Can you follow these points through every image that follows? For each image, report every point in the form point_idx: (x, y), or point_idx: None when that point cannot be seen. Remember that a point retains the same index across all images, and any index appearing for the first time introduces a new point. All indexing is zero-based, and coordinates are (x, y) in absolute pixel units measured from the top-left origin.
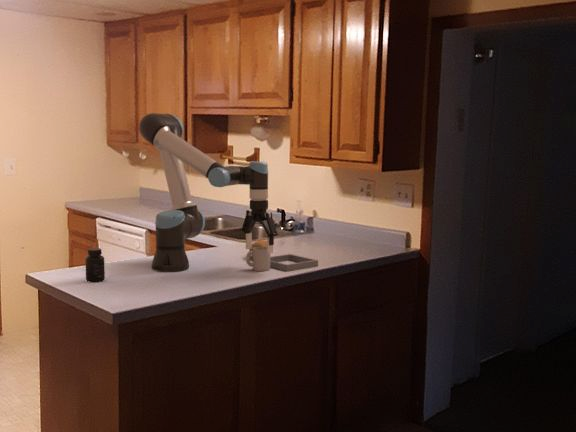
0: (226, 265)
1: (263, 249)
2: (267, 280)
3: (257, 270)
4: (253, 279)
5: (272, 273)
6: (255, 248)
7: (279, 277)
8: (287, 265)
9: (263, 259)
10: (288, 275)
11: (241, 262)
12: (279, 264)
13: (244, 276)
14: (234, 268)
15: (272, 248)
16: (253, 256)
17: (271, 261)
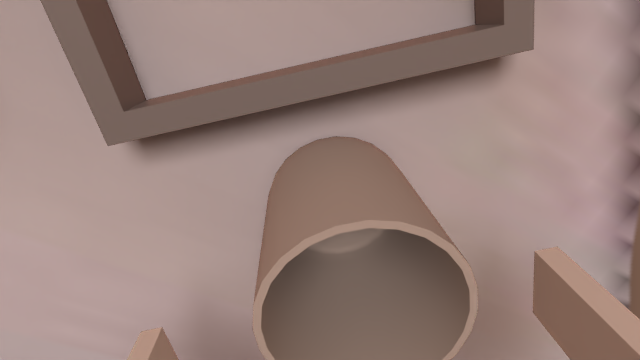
0: (109, 343)
1: (284, 244)
2: (621, 289)
3: (370, 244)
4: (548, 340)
5: (490, 184)
6: (271, 342)
7: (616, 197)
8: (532, 41)
9: (427, 264)
10: (617, 110)
11: (12, 223)
12: (419, 73)
13: (458, 354)
14: (224, 332)
15: (594, 290)
16: (341, 330)
17: (295, 98)
